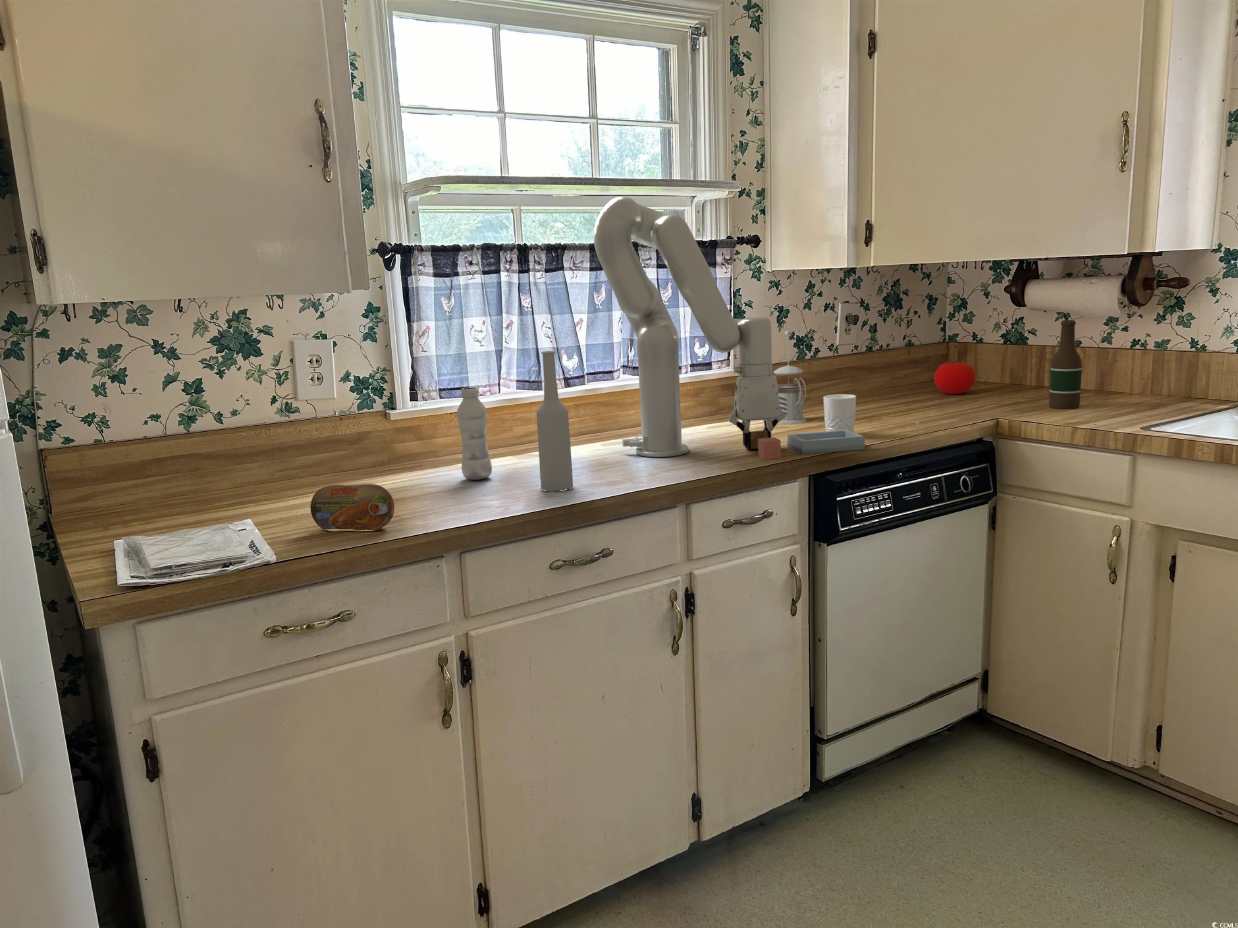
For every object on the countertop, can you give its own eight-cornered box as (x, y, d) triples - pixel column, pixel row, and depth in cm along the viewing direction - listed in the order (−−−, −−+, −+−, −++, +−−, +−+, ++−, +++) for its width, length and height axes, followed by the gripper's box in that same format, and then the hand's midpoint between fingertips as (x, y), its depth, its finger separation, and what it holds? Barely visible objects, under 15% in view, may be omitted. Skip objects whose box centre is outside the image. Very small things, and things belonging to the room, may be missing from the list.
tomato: (930, 392, 295) (931, 359, 292) (969, 390, 293) (970, 358, 291) (938, 396, 284) (939, 363, 282) (979, 395, 282) (980, 361, 280)
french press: (792, 416, 260) (792, 328, 255) (818, 421, 250) (817, 330, 245) (764, 420, 256) (762, 331, 251) (788, 425, 246) (787, 332, 241)
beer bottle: (1081, 405, 253) (1086, 319, 249) (1077, 410, 247) (1082, 321, 242) (1050, 404, 258) (1054, 319, 253) (1046, 409, 251) (1050, 321, 246)
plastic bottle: (479, 483, 194) (472, 390, 190) (456, 481, 197) (447, 389, 193) (499, 477, 199) (491, 386, 195) (475, 475, 203) (468, 386, 199)
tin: (312, 532, 162) (306, 486, 160) (320, 527, 165) (315, 482, 163) (391, 532, 159) (386, 485, 158) (398, 527, 162) (394, 481, 161)
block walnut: (751, 448, 213) (750, 431, 213) (747, 448, 217) (745, 431, 217) (768, 447, 214) (767, 430, 214) (763, 447, 218) (762, 430, 218)
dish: (802, 454, 207) (802, 441, 207) (787, 446, 217) (787, 434, 216) (864, 449, 209) (864, 436, 209) (846, 441, 219) (846, 429, 219)
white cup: (856, 438, 223) (856, 398, 221) (823, 439, 224) (823, 399, 222) (855, 433, 230) (855, 393, 228) (823, 433, 232) (823, 394, 230)
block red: (763, 458, 205) (763, 441, 204) (758, 455, 209) (758, 438, 208) (780, 457, 205) (780, 440, 205) (774, 454, 209) (774, 437, 209)
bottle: (552, 493, 182) (542, 353, 176) (535, 488, 187) (525, 352, 181) (579, 487, 185) (571, 350, 180) (562, 482, 191) (553, 349, 185)
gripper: (725, 374, 207) (727, 453, 211) (795, 370, 210) (796, 448, 213) (716, 371, 214) (719, 447, 218) (784, 367, 217) (785, 442, 221)
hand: (757, 447), depth 216 cm, fingers closed on block walnut, 3 cm apart
